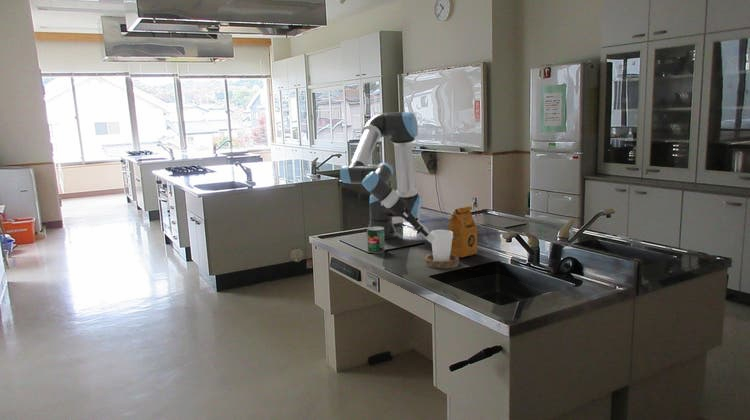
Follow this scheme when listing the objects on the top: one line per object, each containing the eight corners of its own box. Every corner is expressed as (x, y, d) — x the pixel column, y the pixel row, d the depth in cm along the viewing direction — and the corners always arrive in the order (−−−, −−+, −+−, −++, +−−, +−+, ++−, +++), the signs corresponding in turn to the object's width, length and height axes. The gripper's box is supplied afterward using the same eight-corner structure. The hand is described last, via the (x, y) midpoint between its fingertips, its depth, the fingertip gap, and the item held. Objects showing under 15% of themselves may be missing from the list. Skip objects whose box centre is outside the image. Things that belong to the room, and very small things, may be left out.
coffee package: (480, 255, 241) (481, 206, 237) (462, 260, 234) (462, 210, 229) (463, 250, 249) (464, 204, 245) (445, 255, 241) (445, 207, 237)
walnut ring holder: (422, 259, 235) (422, 253, 234) (454, 258, 236) (454, 252, 235) (428, 269, 221) (428, 262, 221) (461, 268, 222) (461, 261, 222)
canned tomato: (385, 249, 254) (385, 226, 252) (383, 253, 247) (383, 230, 245) (369, 248, 256) (368, 226, 254) (366, 253, 248) (365, 229, 246)
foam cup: (457, 262, 227) (457, 232, 224) (440, 266, 222) (440, 235, 220) (442, 257, 235) (443, 228, 232) (426, 261, 230) (425, 231, 228)
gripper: (384, 203, 234) (418, 235, 238) (390, 214, 210) (428, 250, 214) (396, 191, 233) (430, 223, 237) (404, 201, 209) (441, 237, 213)
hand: (429, 236), depth 226 cm, fingers open, 13 cm apart
